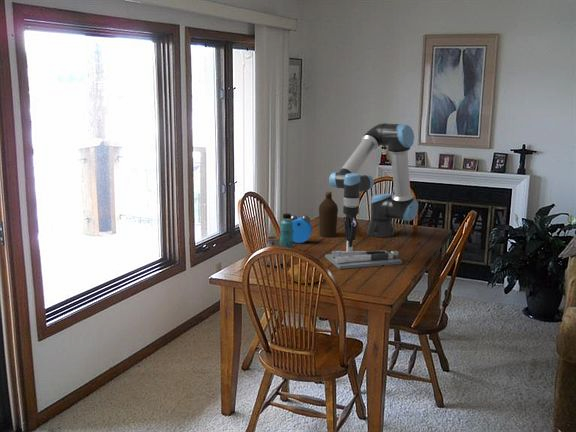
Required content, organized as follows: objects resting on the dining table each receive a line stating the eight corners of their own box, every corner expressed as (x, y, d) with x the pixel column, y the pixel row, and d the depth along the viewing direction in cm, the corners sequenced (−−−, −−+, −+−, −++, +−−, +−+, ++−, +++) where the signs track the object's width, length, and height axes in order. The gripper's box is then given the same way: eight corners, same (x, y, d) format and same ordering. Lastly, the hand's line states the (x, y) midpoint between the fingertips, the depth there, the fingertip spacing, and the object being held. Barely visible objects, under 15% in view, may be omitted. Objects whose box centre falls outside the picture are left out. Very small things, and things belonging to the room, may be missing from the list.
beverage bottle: (279, 250, 315) (279, 212, 311) (292, 250, 315) (292, 212, 311) (280, 253, 309) (280, 215, 304) (293, 253, 309) (293, 215, 305)
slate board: (384, 252, 312) (384, 249, 311) (402, 263, 293) (402, 260, 293) (325, 257, 303) (325, 254, 303) (339, 269, 284) (339, 266, 284)
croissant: (284, 281, 274) (281, 264, 272) (316, 272, 279) (313, 256, 277) (295, 290, 261) (293, 272, 259) (328, 281, 266) (326, 264, 264)
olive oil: (328, 238, 339) (329, 194, 333) (314, 235, 346) (315, 191, 341) (341, 235, 346) (342, 192, 340) (327, 232, 353) (328, 189, 348)
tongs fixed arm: (396, 255, 301) (396, 250, 300) (400, 258, 296) (401, 252, 295) (333, 260, 292) (333, 254, 291) (337, 263, 287) (337, 257, 286)
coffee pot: (261, 260, 297) (261, 230, 294) (285, 260, 297) (285, 230, 294) (259, 274, 277) (259, 242, 273) (285, 274, 276) (285, 242, 273)
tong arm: (385, 255, 301) (385, 250, 300) (386, 257, 298) (386, 252, 298) (331, 255, 300) (332, 250, 299) (332, 257, 297) (332, 252, 297)
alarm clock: (311, 241, 333) (312, 214, 330) (310, 244, 327) (311, 216, 324) (288, 240, 335) (288, 213, 332) (286, 243, 329) (286, 215, 326)
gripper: (339, 203, 300) (337, 249, 305) (348, 208, 288) (346, 257, 293) (353, 202, 302) (351, 248, 307) (363, 208, 290) (361, 256, 295)
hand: (349, 252), depth 300 cm, fingers closed
